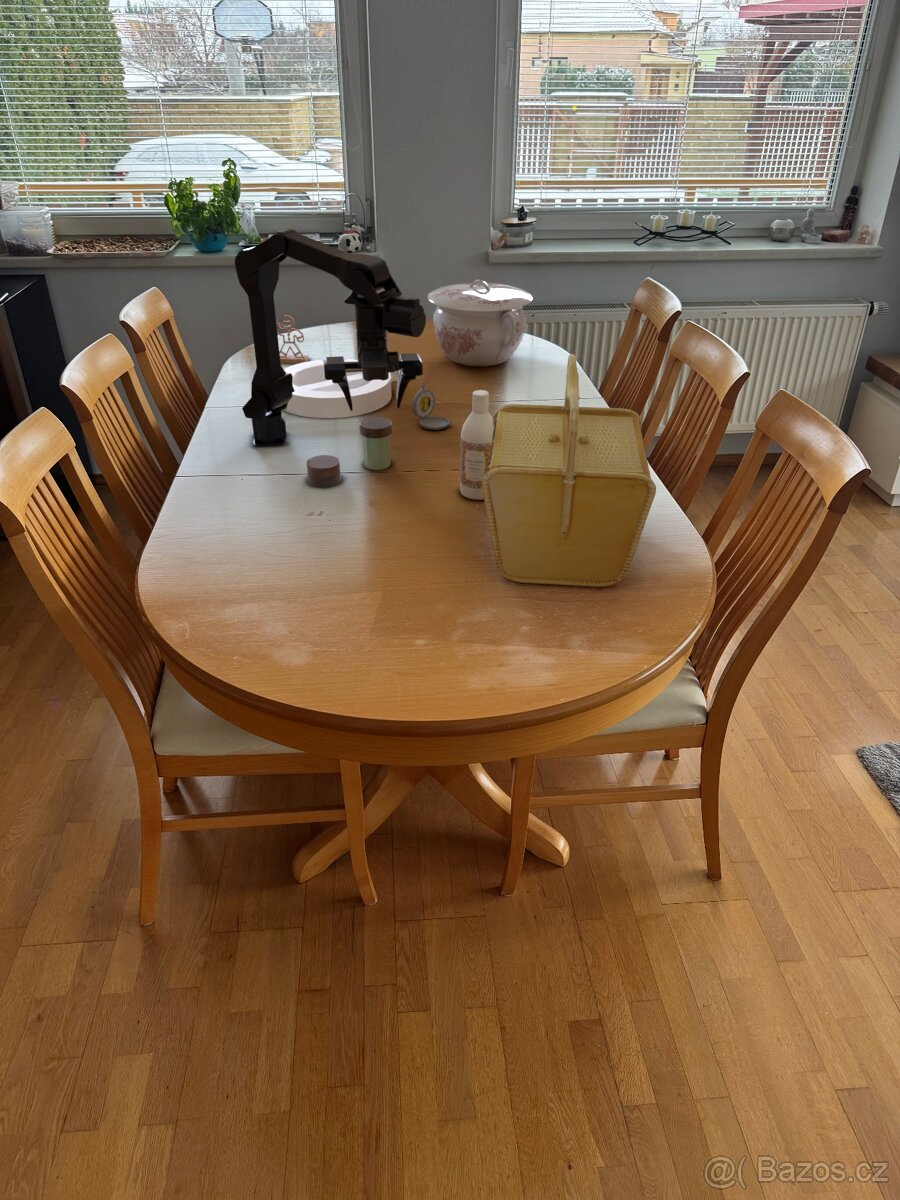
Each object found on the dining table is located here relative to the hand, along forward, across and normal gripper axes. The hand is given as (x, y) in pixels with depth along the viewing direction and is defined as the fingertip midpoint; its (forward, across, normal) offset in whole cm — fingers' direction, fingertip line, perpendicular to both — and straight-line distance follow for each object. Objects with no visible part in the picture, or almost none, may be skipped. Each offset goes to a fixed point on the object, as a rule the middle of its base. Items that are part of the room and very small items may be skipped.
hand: (374, 408), depth 173 cm
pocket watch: (+12, +14, +20) cm, 27 cm away
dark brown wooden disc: (+5, 0, 0) cm, 5 cm away
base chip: (+12, -11, -6) cm, 17 cm away
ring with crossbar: (+12, -7, +41) cm, 43 cm away
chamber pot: (+12, +33, +64) cm, 73 cm away
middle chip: (+10, -11, -6) cm, 16 cm away
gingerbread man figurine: (+12, -17, +70) cm, 73 cm away
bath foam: (+12, +18, -16) cm, 27 cm away
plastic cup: (+12, 0, 0) cm, 12 cm away
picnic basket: (+12, +28, -39) cm, 50 cm away
